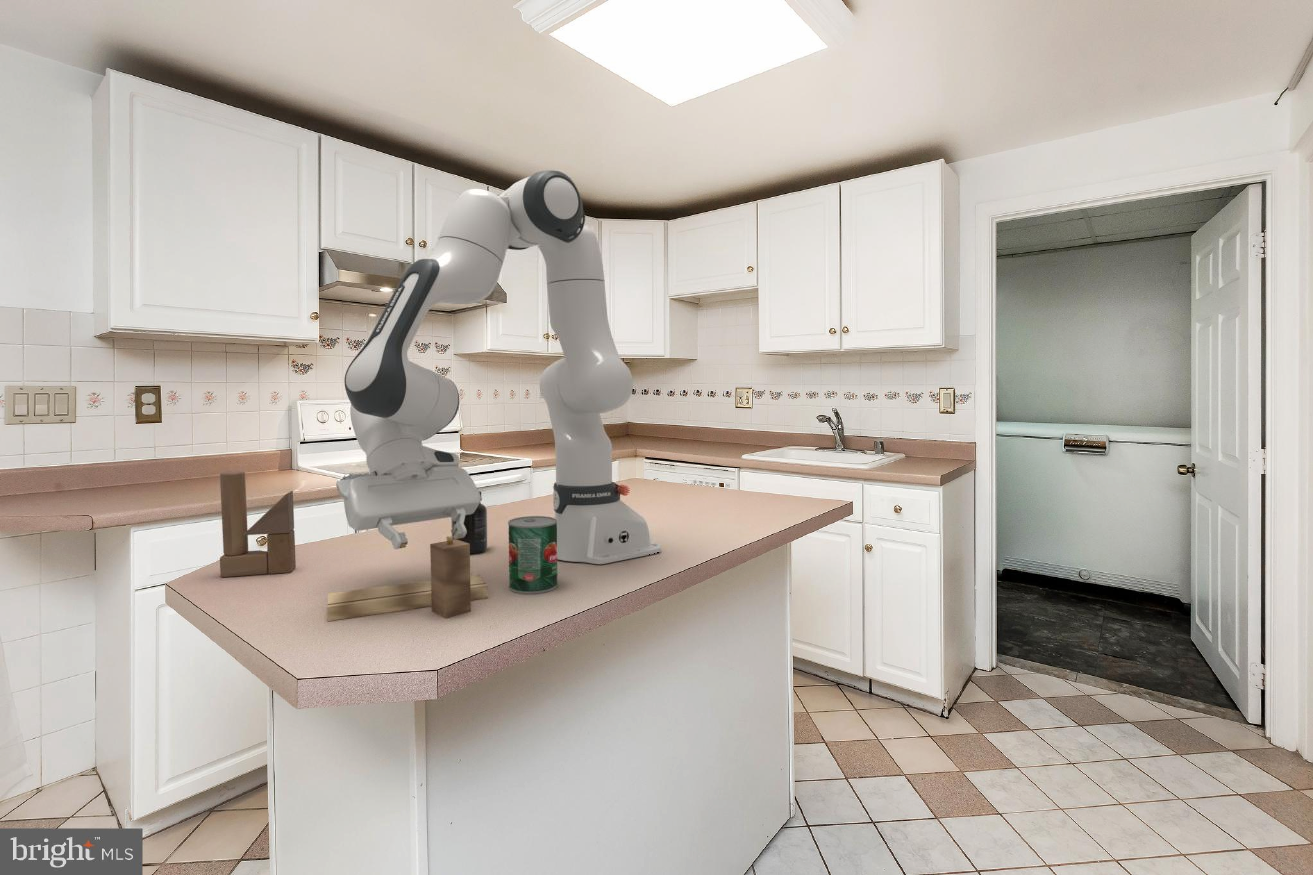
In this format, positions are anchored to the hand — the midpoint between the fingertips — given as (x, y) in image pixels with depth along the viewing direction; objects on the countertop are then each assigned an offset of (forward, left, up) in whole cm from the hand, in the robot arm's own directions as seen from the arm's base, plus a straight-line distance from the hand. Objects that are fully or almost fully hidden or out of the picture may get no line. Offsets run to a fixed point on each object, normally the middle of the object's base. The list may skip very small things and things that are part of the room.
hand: (432, 541), depth 93 cm
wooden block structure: (+25, -31, -10) cm, 41 cm away
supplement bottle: (-11, -30, -10) cm, 33 cm away
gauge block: (-2, +4, -10) cm, 11 cm away
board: (+3, -2, -10) cm, 10 cm away
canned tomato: (-16, -2, -10) cm, 19 cm away
